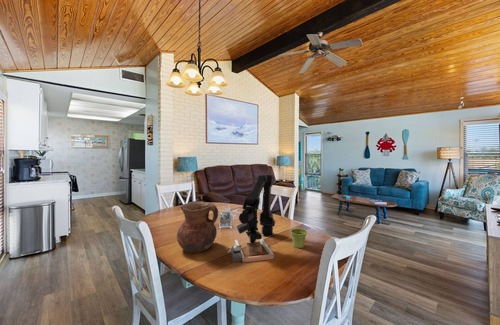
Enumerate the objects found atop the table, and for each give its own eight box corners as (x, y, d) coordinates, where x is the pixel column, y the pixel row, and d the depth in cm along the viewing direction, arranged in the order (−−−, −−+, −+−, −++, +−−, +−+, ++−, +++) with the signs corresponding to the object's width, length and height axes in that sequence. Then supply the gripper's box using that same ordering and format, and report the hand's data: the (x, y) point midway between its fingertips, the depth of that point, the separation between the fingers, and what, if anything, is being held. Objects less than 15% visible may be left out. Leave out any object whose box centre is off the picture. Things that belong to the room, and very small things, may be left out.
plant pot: (297, 251, 119) (297, 235, 118) (286, 244, 127) (287, 230, 127) (310, 247, 123) (310, 232, 123) (299, 241, 131) (299, 227, 131)
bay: (261, 240, 132) (261, 237, 132) (274, 258, 110) (274, 254, 110) (235, 243, 129) (235, 239, 128) (242, 262, 106) (242, 258, 106)
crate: (258, 249, 121) (258, 241, 121) (261, 253, 115) (261, 246, 115) (246, 250, 119) (246, 242, 119) (249, 255, 113) (249, 247, 113)
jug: (178, 260, 109) (178, 210, 107) (175, 243, 128) (174, 201, 126) (221, 251, 117) (221, 206, 116) (212, 237, 137) (212, 198, 135)
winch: (240, 256, 112) (240, 243, 112) (242, 262, 107) (242, 248, 106) (226, 258, 110) (226, 245, 110) (228, 263, 105) (228, 250, 105)
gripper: (235, 214, 128) (235, 240, 129) (241, 225, 110) (241, 255, 111) (253, 213, 131) (253, 238, 131) (262, 223, 112) (261, 252, 113)
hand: (251, 245), depth 121 cm, fingers closed
